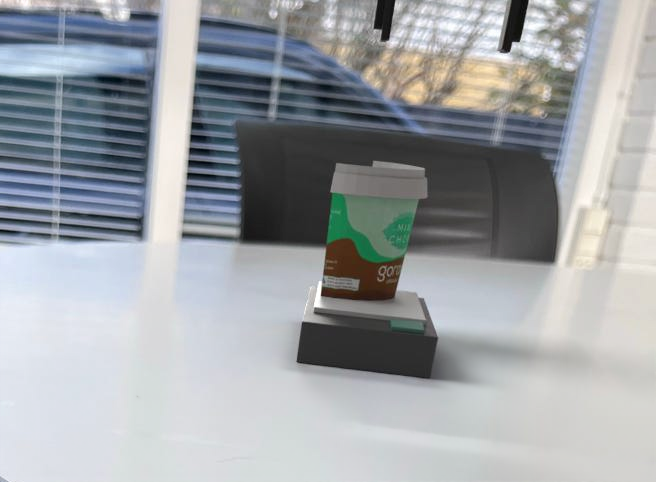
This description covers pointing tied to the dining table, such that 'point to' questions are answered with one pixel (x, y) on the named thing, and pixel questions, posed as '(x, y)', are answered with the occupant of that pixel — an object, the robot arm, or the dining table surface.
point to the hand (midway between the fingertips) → (443, 46)
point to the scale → (368, 334)
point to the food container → (370, 229)
